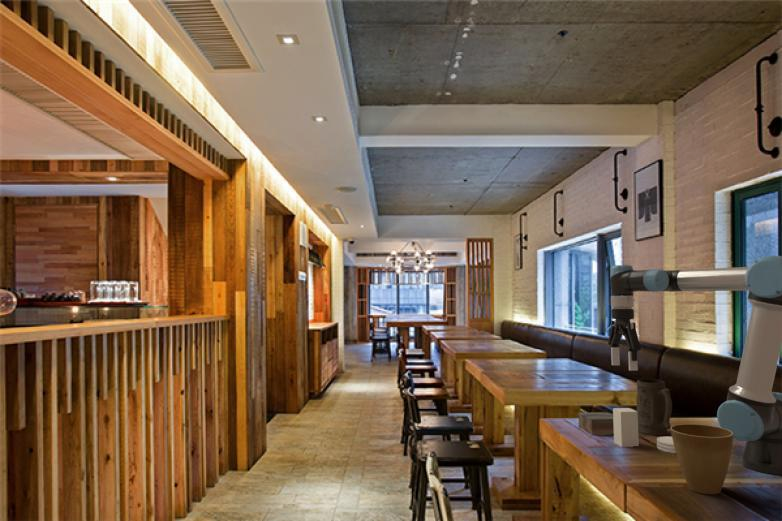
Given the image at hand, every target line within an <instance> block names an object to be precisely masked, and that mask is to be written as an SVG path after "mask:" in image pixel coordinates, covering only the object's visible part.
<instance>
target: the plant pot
mask: <svg viewBox="0 0 782 521" xmlns="http://www.w3.org/2000/svg"><path fill="white" fill-rule="evenodd" d="M669 430H670V433H671V434H670V435H671V437H672V438H673V443H674V447H675V451H676V458H677V461H678V463H679V466H680V469H681V471H682V475H683V477H684V479H685V482H686V484H687V486H688V488H689V489H690V491H693V492H695V493H699V494H703V495H704V494H705V495H718V494H720V493H721V491H722V489H723V486H724V483H725V481H726V477H727V474H728V469H729V467H730V462H731V456H732V452H733V451H732V449H733V442H734V438H733V432H732V431H730V430H727V429H724V428H722V427H721V426H720V427H719V426H714V425H709V424H708V425H707V424H699V423H698V424H697V423H681V424H674V425H671V427H670V429H669Z"/></svg>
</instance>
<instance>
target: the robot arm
mask: <svg viewBox="0 0 782 521" xmlns="http://www.w3.org/2000/svg"><path fill="white" fill-rule="evenodd" d="M609 273H610V276H609V280H610V307H611V309H610V314H611V316H610V317H611V319H612V320H611V322H610V329H609V336H608V341H607V344H608V346H609V347H610V349H611V350H610V353H611V355H610V356H611V366H621V363H620V362H621V361H620V356H621V355H620V342H621V341H622V340H621V339H622V337H624V339H625V342H626V343H627V344H626V345H627V346H628V350H627V352H628V353H627V354H628V371H631V372H632V371H639V367H638V363H639V362H638V352H639V351H641V350H642V347H641V343H640V340H639V336H638V332H637V328H636V326H637V325H636V322H631V320H634V319H635V310H634V304H635V303H634V302H635V298H634V292H652V293H655V292H656V293H657V292H669V293H671V292H673V293H676V292H729V291H730V292H732V291H733V292H734V291H737V292H738V291H743V292H744V291H747V292H748V296H747V300H748V302H749V303H750V304H751V306H752V308H751V311H750V317H749V321H748V325H747V326H748V327H747V331H746V336H745V341H744V346H743V350H742V355H741V360H740V363H739V364H740V365H739V369H738V372H737V378H736V383H735V384H734V385H731V386H730V387H729V388H728V391H727V397H726V401H724V402H723V403H721V404H720V405H719V407H718V409H717V412H716V418H717V422H718V424H719V426H720V428H724V429H727V430H730V431H732V432H733V440H736V441H741V442H745V444H744V447H743V451H742V453H741V456H740V458H741V460H740V461H741V464H742V465H743V466H744V467H746V468H748V469H749V470H754V471H757V472H761V473H766V474H771V475H779V476H782V392H775V391H772V390H773V385H774V381H775V377H776V373H777V367H778V364H779V359H780V354H781V348H782V255H769V256H763V257H760V258H758V259H756V260H755V261H753V262H752V263H750V265H749V266H742V267H741V266H740V267H737V266H736V267H719V268H718V267H716V268H695V269H673V270H672V269H671V270H670V269H669V270H663V269H659V268H658V269H657V268H654V269H652V268H651V269H639V270H635V269H634V268H633V266H632V265H630V264H626V265H625V264H624V265H623V264H622V265H621V264H620V265H619V264H618V265H617V264H615V265H613V266H611V267H610V272H609Z"/></svg>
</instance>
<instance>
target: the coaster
mask: <svg viewBox="0 0 782 521" xmlns="http://www.w3.org/2000/svg"><path fill="white" fill-rule="evenodd" d="M656 448H657V449H658V450H659V451H661V452H664V453H668V452H669V453H668V454H675V453H676V451H675V447H674V443H673V438H672V436H665V435H664V436H659V437H657V438H656Z"/></svg>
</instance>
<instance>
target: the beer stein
mask: <svg viewBox="0 0 782 521" xmlns="http://www.w3.org/2000/svg"><path fill="white" fill-rule="evenodd" d="M636 390H637V391H636V393H637V394H636V411H637V412H638V433H640V432H641V434H643V433H644V434H643V435H648V434H650V436H665V434H666V435H667V434H668V433H669V431H668V430H671V429H670V427H671V426H672V425H671V424H670V423H671V422H670V420H671V417H672V411H673V401H672V397H671V393H670V390H671V389H669V388H667V387H666V383H665V381H663V380H660V379H655V378H640V379H637V381H636Z"/></svg>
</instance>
